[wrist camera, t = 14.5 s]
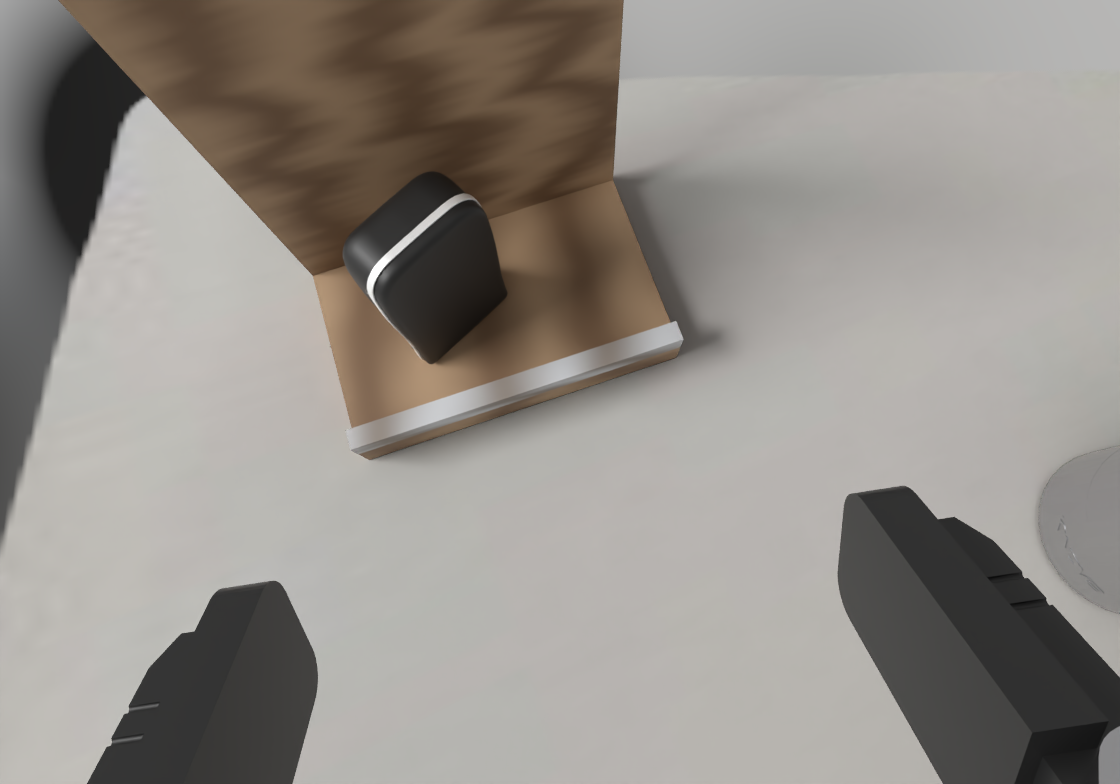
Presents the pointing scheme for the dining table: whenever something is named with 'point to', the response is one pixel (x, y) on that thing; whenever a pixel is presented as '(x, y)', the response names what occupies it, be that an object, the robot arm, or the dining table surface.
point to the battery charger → (428, 263)
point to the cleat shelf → (404, 153)
